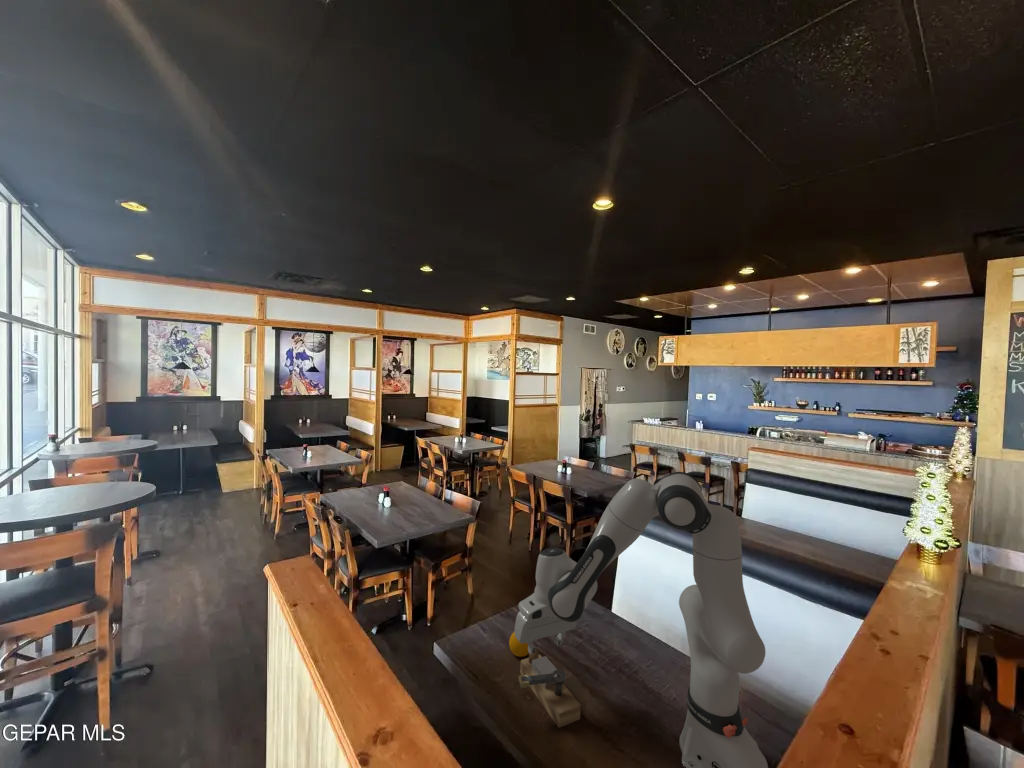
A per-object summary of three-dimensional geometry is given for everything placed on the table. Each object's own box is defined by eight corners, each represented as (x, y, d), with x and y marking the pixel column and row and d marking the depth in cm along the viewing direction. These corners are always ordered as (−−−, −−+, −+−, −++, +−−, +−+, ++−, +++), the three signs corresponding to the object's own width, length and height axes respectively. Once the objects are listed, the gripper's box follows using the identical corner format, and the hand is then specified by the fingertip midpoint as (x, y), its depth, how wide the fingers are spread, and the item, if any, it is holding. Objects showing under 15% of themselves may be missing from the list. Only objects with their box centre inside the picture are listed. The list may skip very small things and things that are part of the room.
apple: (505, 657, 136) (506, 635, 136) (512, 642, 144) (513, 621, 144) (529, 663, 134) (530, 641, 134) (534, 648, 142) (535, 626, 141)
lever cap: (559, 683, 121) (560, 673, 121) (545, 688, 119) (545, 678, 119) (545, 665, 128) (545, 655, 128) (531, 669, 126) (531, 660, 126)
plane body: (580, 718, 114) (581, 691, 113) (558, 728, 110) (560, 700, 110) (539, 666, 133) (540, 643, 133) (520, 672, 130) (521, 648, 130)
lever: (562, 674, 119) (563, 669, 119) (566, 683, 116) (567, 678, 116) (518, 679, 116) (518, 674, 116) (521, 689, 113) (521, 683, 113)
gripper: (570, 591, 130) (567, 633, 131) (513, 604, 121) (510, 650, 121) (582, 601, 125) (579, 646, 125) (524, 616, 115) (520, 664, 116)
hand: (545, 648), depth 123 cm, fingers open, 8 cm apart
